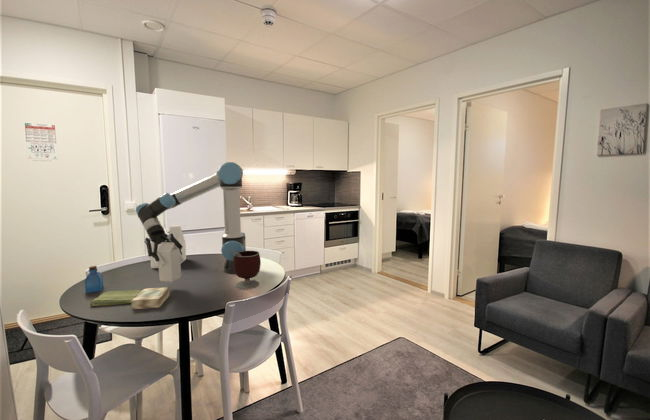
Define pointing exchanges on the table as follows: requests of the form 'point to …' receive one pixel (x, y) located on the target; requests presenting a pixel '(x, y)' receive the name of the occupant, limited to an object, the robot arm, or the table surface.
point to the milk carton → (169, 262)
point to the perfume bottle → (93, 280)
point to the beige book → (150, 298)
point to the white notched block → (178, 236)
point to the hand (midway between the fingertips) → (172, 263)
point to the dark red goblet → (246, 268)
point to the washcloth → (115, 298)
